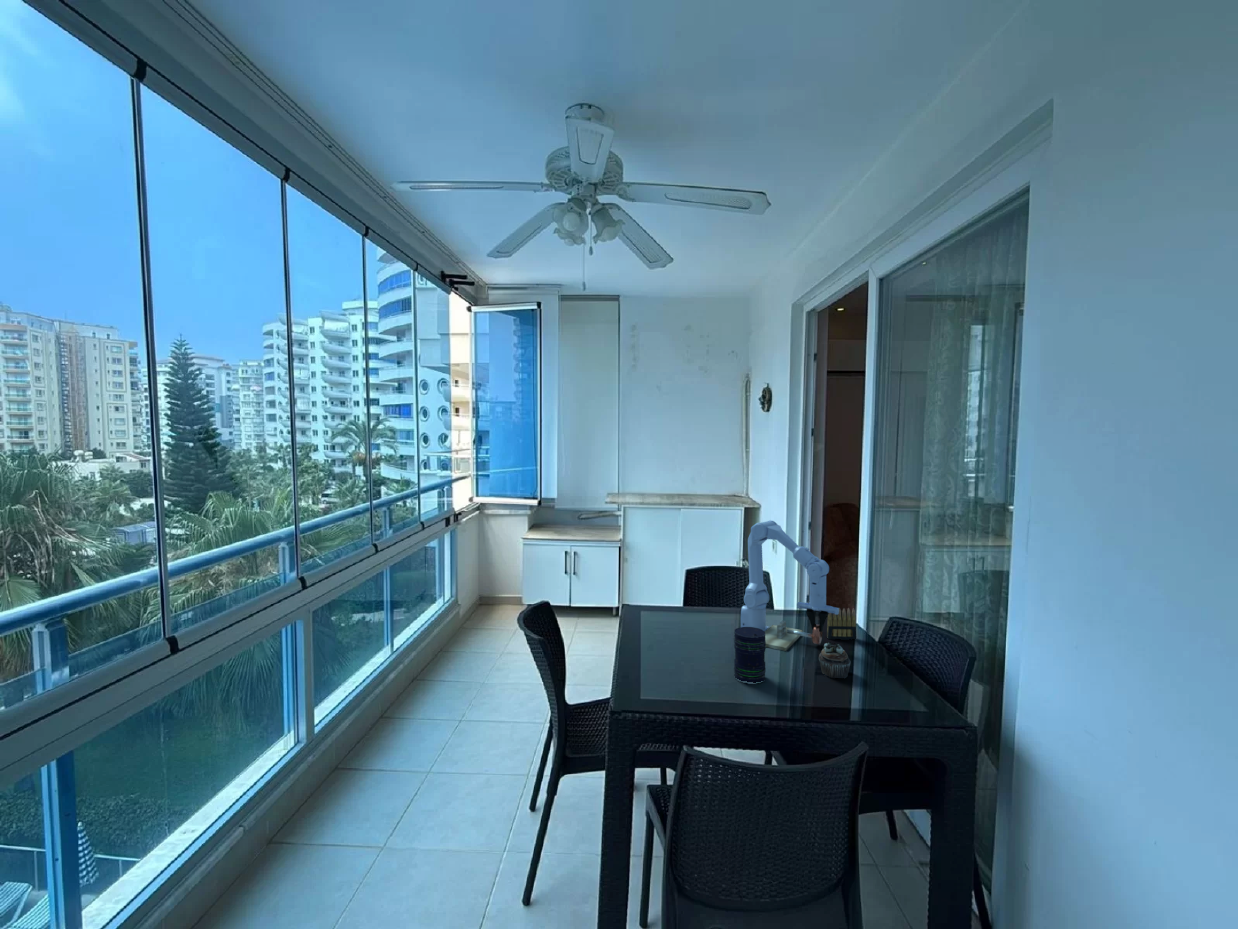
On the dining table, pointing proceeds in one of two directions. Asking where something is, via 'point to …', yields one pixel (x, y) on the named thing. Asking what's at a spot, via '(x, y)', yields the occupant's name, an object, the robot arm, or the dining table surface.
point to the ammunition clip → (841, 626)
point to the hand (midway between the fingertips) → (817, 630)
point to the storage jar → (749, 654)
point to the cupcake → (834, 661)
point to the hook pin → (815, 634)
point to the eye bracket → (780, 636)
